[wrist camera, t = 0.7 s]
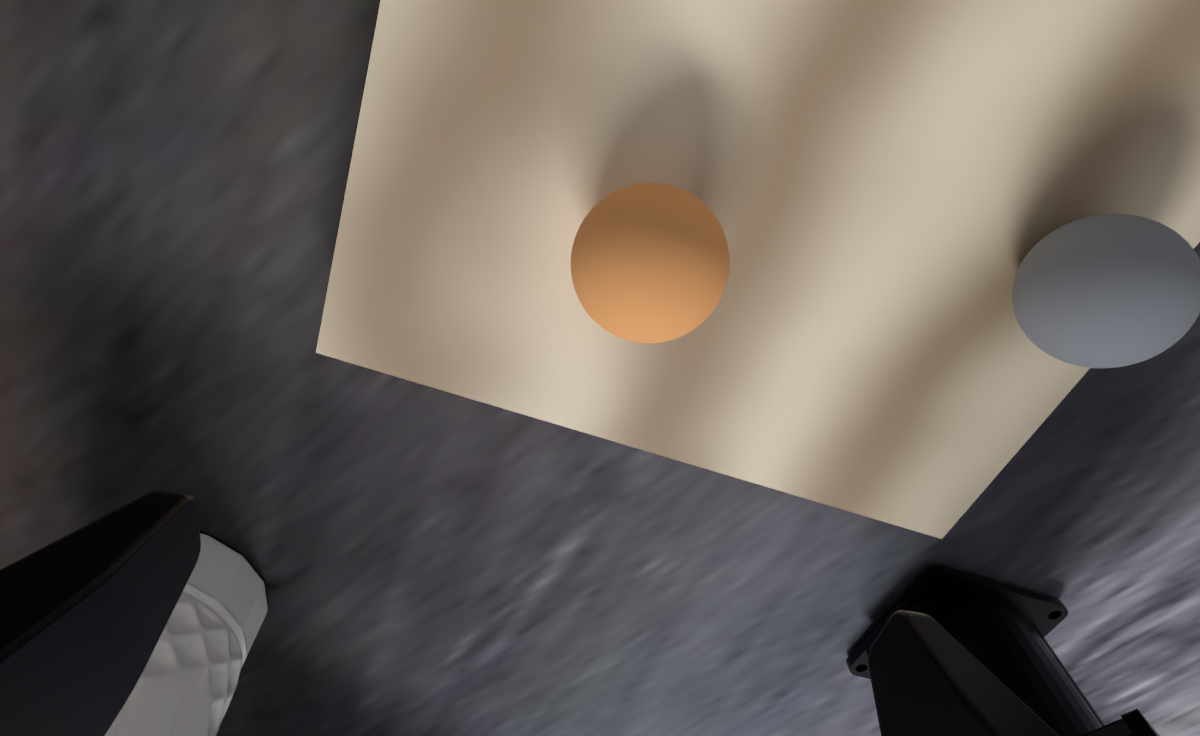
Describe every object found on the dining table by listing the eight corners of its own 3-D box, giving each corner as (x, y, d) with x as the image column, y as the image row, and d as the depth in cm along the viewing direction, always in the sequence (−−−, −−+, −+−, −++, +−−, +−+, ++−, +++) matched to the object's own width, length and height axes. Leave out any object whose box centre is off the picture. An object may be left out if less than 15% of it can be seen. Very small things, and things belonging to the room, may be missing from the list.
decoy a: (1161, 224, 16) (1292, 280, 13) (1063, 342, 18) (1161, 416, 15) (1045, 173, 15) (1156, 219, 12) (955, 301, 17) (1034, 369, 14)
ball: (739, 196, 16) (776, 247, 13) (679, 320, 17) (698, 392, 14) (602, 142, 15) (605, 182, 12) (552, 277, 17) (545, 342, 14)
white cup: (70, 624, 27) (-179, 931, 18) (69, 483, 23) (-243, 784, 14) (270, 667, 28) (129, 970, 20) (300, 542, 25) (142, 846, 16)
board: (1646, -443, 12) (1872, -534, 10) (909, 488, 24) (941, 539, 21) (665, -1267, 8) (692, -1693, 6) (345, 312, 20) (316, 352, 18)
